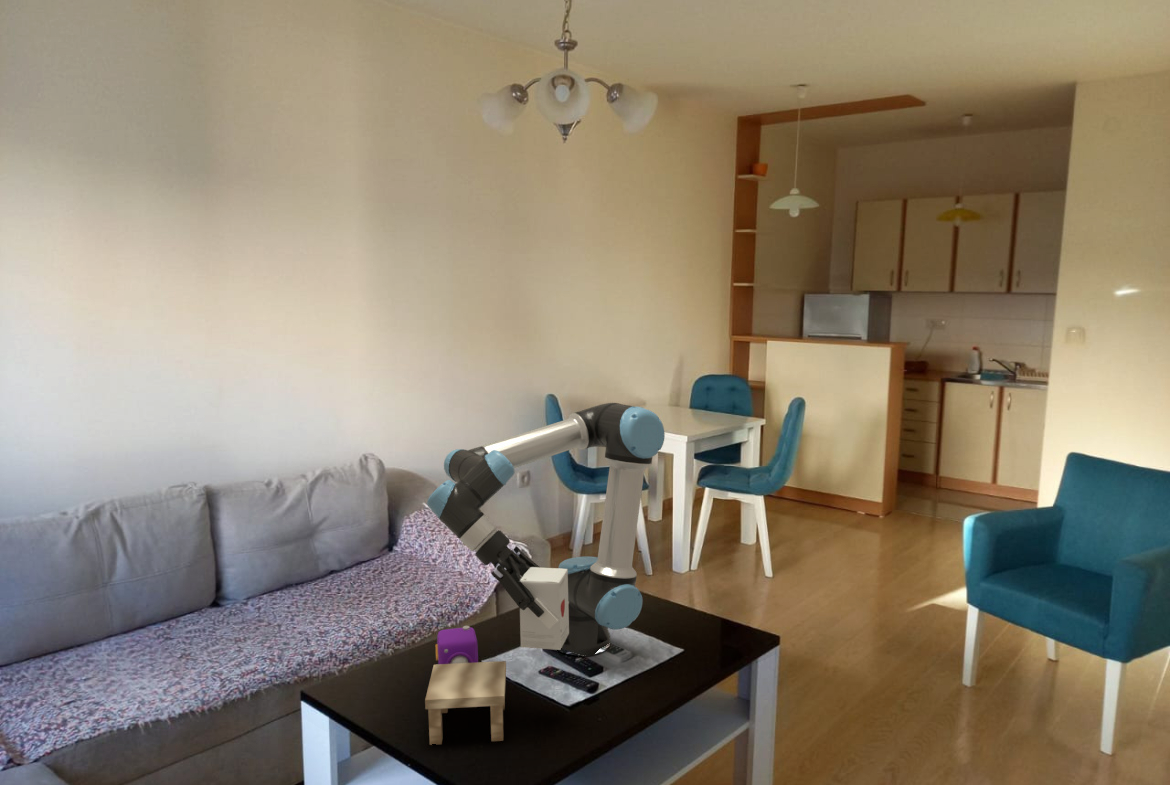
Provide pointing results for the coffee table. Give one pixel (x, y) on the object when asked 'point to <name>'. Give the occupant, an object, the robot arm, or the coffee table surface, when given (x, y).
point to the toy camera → (457, 646)
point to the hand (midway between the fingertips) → (559, 615)
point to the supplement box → (554, 596)
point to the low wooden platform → (466, 693)
